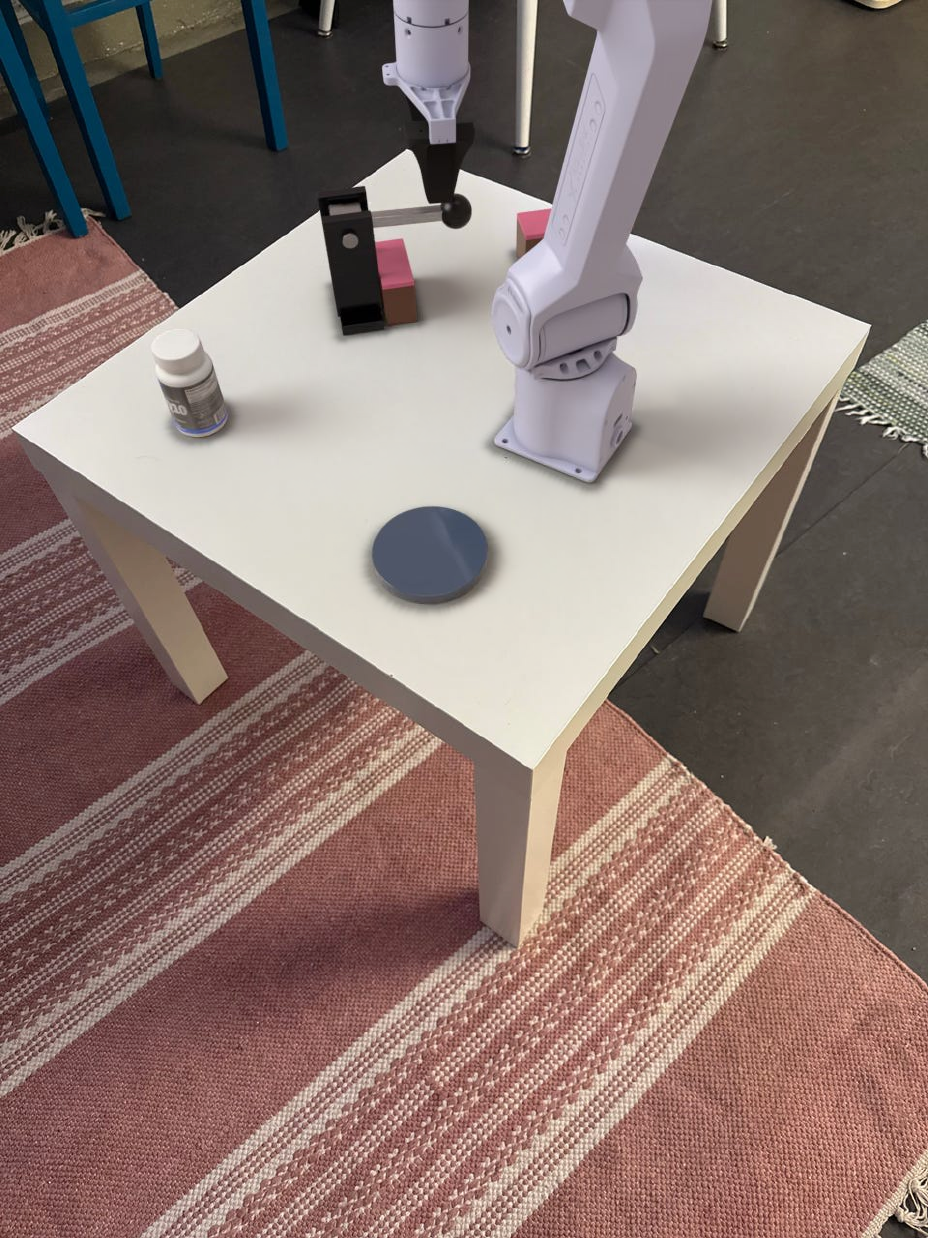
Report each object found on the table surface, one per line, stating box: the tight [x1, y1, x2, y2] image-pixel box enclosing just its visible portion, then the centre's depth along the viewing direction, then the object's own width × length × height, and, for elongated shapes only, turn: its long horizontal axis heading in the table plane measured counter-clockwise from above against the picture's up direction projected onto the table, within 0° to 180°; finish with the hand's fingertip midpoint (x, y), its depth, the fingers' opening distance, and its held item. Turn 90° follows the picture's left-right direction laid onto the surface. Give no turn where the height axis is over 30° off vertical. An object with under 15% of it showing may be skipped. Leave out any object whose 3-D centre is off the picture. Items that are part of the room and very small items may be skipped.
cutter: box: [329, 192, 473, 230], centre depth 83 cm, size 13×3×3 cm, turn 101°
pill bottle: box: [150, 328, 229, 438], centre depth 78 cm, size 5×5×8 cm
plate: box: [371, 505, 489, 605], centre depth 71 cm, size 9×9×1 cm
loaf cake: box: [375, 237, 418, 327], centre depth 89 cm, size 3×7×4 cm, turn 11°
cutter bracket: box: [316, 185, 385, 336], centre depth 86 cm, size 4×8×11 cm, turn 11°
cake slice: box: [515, 208, 551, 261], centre depth 92 cm, size 4×4×4 cm
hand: (434, 173), depth 81 cm, fingers open, 7 cm apart
